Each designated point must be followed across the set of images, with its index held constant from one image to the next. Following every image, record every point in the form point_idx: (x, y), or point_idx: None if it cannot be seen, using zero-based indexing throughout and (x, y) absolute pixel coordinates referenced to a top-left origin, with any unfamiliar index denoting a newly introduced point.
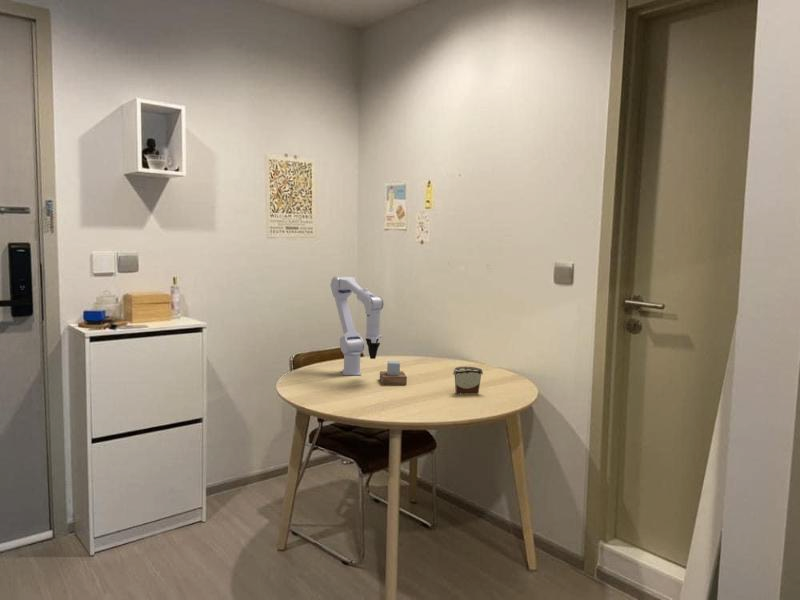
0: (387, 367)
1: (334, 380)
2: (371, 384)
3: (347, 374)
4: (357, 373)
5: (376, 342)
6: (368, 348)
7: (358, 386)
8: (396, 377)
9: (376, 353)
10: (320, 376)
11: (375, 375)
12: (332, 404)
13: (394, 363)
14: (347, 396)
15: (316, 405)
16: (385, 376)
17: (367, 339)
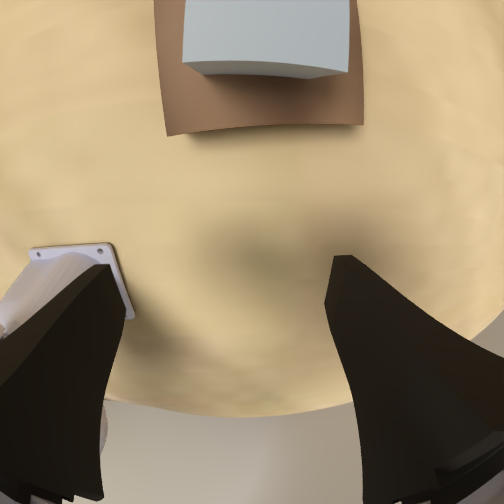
0: (218, 69)
1: (235, 339)
2: (317, 183)
3: (130, 302)
4: (100, 262)
5: (8, 399)
6: (105, 382)
7: (350, 251)
8: (357, 27)
9: (399, 292)
10: (179, 372)
11: (85, 161)
12: (485, 304)
13: (348, 3)
14: (456, 281)
15: (473, 329)
16: (350, 104)
17: (87, 496)
